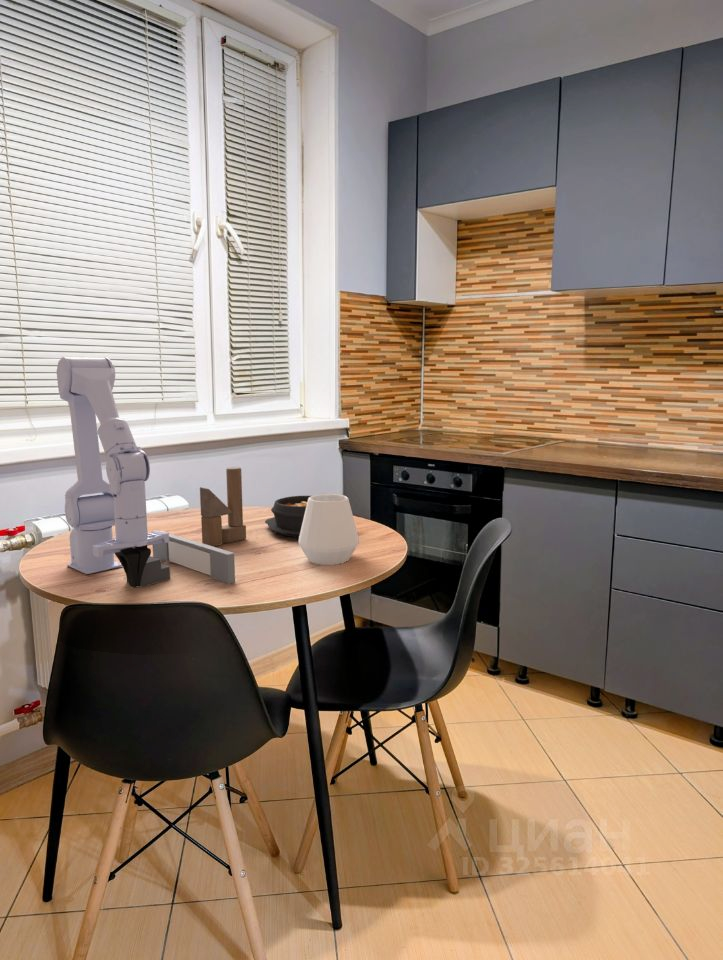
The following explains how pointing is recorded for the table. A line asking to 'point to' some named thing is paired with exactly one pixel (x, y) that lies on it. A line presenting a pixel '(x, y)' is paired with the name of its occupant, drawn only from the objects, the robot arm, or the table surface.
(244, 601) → the table surface
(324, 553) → the white faceted vase
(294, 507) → the casserole
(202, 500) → the brown wooden block structure
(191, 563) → the door
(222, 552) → the wall frame
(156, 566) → the dark grey block
